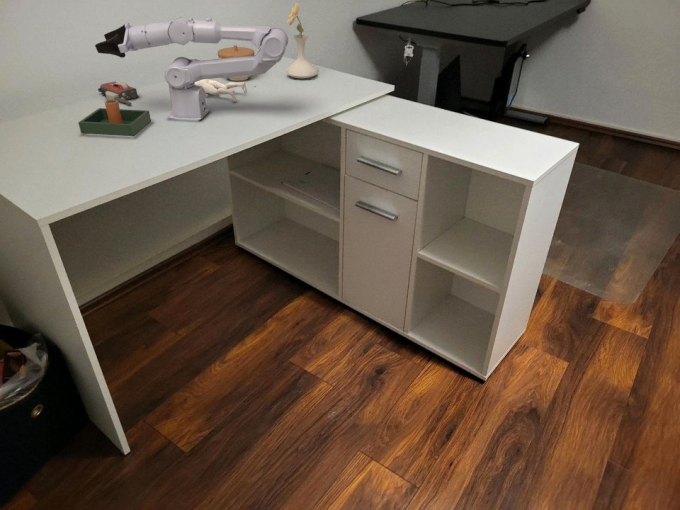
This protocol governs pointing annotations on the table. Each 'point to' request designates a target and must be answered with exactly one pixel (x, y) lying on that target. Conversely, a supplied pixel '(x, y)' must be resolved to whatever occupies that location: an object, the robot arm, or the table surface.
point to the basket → (101, 125)
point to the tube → (113, 111)
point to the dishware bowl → (235, 52)
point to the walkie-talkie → (118, 91)
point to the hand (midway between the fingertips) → (101, 43)
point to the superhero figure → (220, 87)
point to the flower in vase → (300, 51)
